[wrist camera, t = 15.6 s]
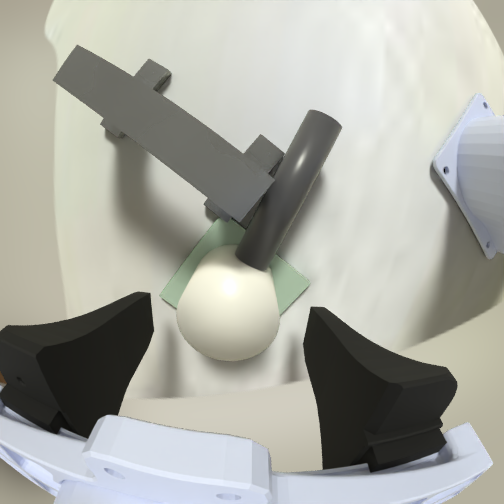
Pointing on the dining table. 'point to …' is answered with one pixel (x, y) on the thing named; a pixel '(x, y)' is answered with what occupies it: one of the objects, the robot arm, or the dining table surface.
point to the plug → (253, 258)
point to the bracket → (171, 132)
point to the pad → (224, 233)
